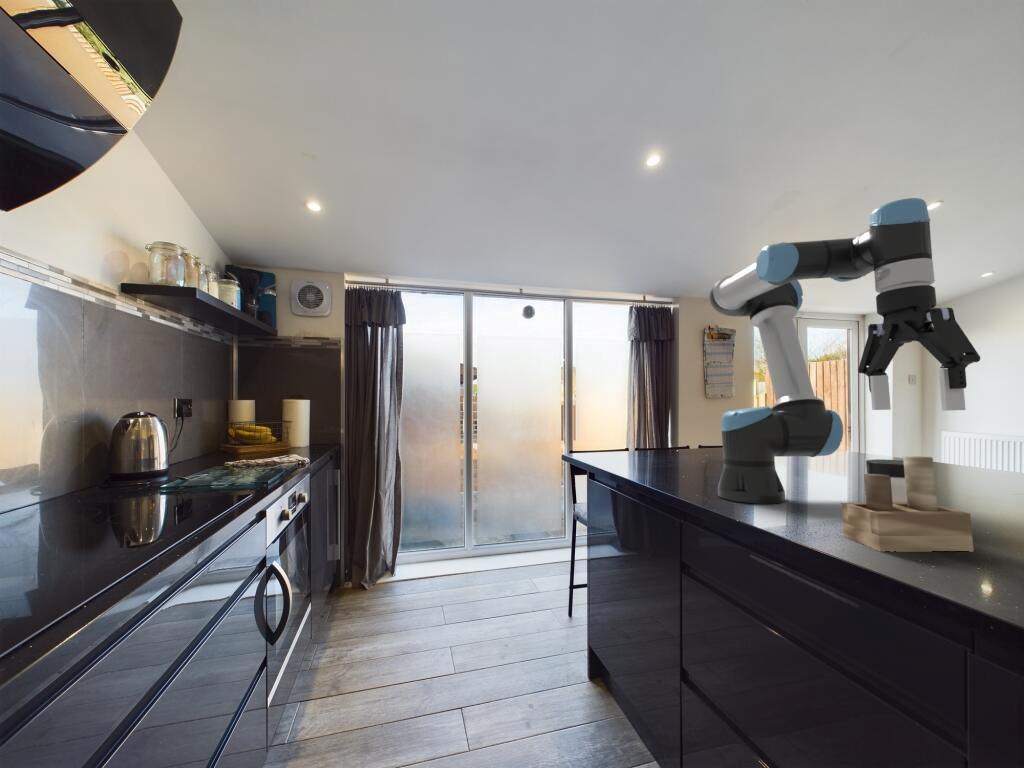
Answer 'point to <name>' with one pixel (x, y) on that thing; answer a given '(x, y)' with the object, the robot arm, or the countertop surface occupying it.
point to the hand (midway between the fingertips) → (914, 410)
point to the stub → (878, 492)
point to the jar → (895, 472)
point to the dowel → (920, 483)
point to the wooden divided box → (907, 528)
